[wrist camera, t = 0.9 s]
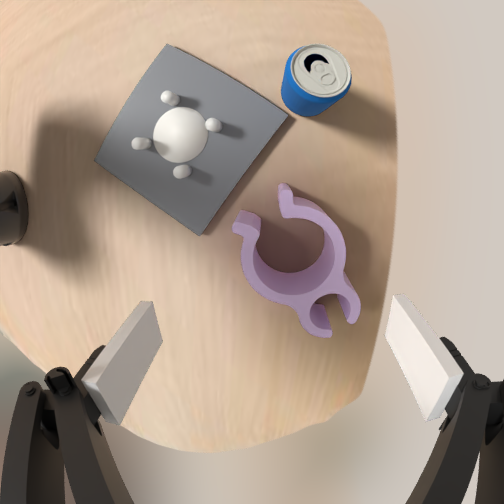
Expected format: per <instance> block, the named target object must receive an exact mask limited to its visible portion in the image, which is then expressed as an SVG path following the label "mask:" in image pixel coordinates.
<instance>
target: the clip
mask: <svg viewBox="0 0 504 504" xmlns="http://www.w3.org/2000/svg"><path fill="white" fill-rule="evenodd" d="M278 202H279V207H280V211H281V214H282V217H283V218H286V219H287V218H303V219H307V220H310V221H313V222H315V223H316V224H318V225H319V226H321V227H322V228H323V231H324V237H325V241H324V247H323V250H322V253H321V255H320V256H319V258H318V259H317V260H316V262H315V263H314V264H312V265H311V266H310V267H308V268H306V269H304V270H302V271H299V272H294V273H285V272H280V271H277V270H274V269H272V268H271V267H269V266H268V265H267V264H266V263H265V262H264V261H263V260H262V259H261V257H260V256H259V254H258V252H257V248H256V242H257V240H258V238H259V236H260V228H261V218H260V217H259V216H257V215H256V214H254V213H251V212H248V211H245V210H241V211H239V213H238V215H237V217H236V219H235V221H234V223H233V226H232V231H233V233H235V234H238V235H241V236H243V238H244V241H243V244H242V249H241V264H242V269H243V272H244V275H245V277H246V279H247V281H248V282H249V284H250V285H251V286H252V288H253V289H254V290H255V291H256V292H258V293H259V294H260V295H261V296H263V297H265V298H266V299H268V300H270V301H273V302H276V303H280V304H285V305H288V306H290V307H292V308H293V309H294V310H295V311H296V312H297V314H298V316H299V320H300V323H301V325H302V327H303V328H304V329H305V330H306V331H307V332H308V333H310V334H311V335H314V336H317V337H322V338H329V337H331V336H332V334H333V333H332V329H331V326H330V323H329V319H328V316H327V313H326V310H325V307H324V305H322V304H315V303H314V302H315V301H316V300H317V299H318V298H320V297H321V296H324V295H326V294H332V293H334V294H338V295H337V298H338V300H339V303H340V305H341V307H342V310H343V312H344V315H345V317H346V320H347V322H348V323H350V324H354V323H355V322H356V321H357V319H358V317H359V314H360V310H361V303H360V299H359V297H358V295H357V293H356V291H355V290H354V288H353V286H352V284H351V282H350V281H349V279H348V277H347V275H346V274H345V272H344V271H343V270H344V266H345V261H346V247H345V242H344V239H343V236H342V234H341V232H340V230H339V228H338V227H337V225H336V224H335V223H334V222H333V221H332V220H331V218H330V217H329V216H328V215H327V214H326V213H325V212H324V211H323V210H322V209H321V208H320V207H319V206H318V205H317V204H315V203H313V202H312V201H310V200H307V199H305V198H301V197H295V196H293V193H292V191H291V189H290V188H289V186H288V184H286V183H281V184H279V186H278Z"/></svg>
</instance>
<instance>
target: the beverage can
mask: <svg viewBox="0 0 504 504" xmlns="http://www.w3.org/2000/svg"><path fill="white" fill-rule="evenodd" d="M351 79H352V77H351V70H350V66H349V64H348V62H347V60H346V59H345V57H344V56H343V55H342V54H341V53H340V52H339V51H337V50H336V49H334V48H332V47H330V46H327V45H323V44H310V45H307V46H303V47H301V48H299V49H297V50H296V51H294V52H293V53H292V54H291V55H290V57H289V58H288V60H287V63H286V67H285V72H284V77H283V82H282V87H281V96H282V99H283V102H284V103H285V105H286V106H287V107H288V108H289V109H290V110H291V111H292V112H294V113H296V114H298V115H301V116H315V115H318V114H320V113H322V112H323V111H324V110H326V109H327V108H328V107H330V106H331V105H333V104H334V103H335V102H337V101H338V100H339V99H341V98H342V97H343V96H344V95H345V94H346V93H347V92H348V90H349V88H350V85H351Z"/></svg>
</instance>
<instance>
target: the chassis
mask: <svg viewBox="0 0 504 504" xmlns="http://www.w3.org/2000/svg"><path fill="white" fill-rule="evenodd" d="M287 117H288V115H287V114H286V113H285V112H283V111H282V110H280V109H279V108H277V107H276V106H275V105H273V104H272V103H270V102H269V101H267V100H266V99H264V98H263V97H261V96H260V95H258V94H257V93H255V92H253V91H252V90H250V89H249V88H247V87H246V86H244V85H242V84H241V83H239V82H237V81H236V80H234V79H232V78H231V77H229V76H227V75H226V74H224V73H222V72H220V71H219V70H217V69H215V68H213V67H212V66H210V65H208V64H206V63H204V62H202V61H201V60H199V59H197V58H195V57H193V56H191V55H189V54H187V53H185V52H183V51H181V50H179V49H177V48H175V47H173V46H171V45H169V44H166V45H165V47H164V48H163V49H162V51H161V52H160V53H159V55H158V56H157V57H156V59H155V60H154V61H153V63H152V64H151V65H150V67H149V68H148V70H147V71H146V72H145V74H144V75H143V77H142V78H141V80H140V81H139V83H138V84H137V86H136V87H135V89H134V90H133V92H132V93H131V95H130V96H129V98H128V100H127V101H126V103H125V105H124V106H123V108H122V110H121V111H120V113H119V115H118V116H117V118H116V120H115V122H114V123H113V125H112V127H111V129H110V131H109V132H108V134H107V136H106V138H105V140H104V142H103V144H102V146H101V148H100V150H99V152H98V154H97V156H96V158H95V160H94V161H95V162H96V163H98V164H99V165H100V166H102V167H103V168H105V169H106V170H107V171H109V172H110V173H111V174H113V175H114V176H115V177H117V178H118V179H120V180H121V181H122V182H124V183H125V184H127V185H128V186H129V187H131V188H132V189H133V190H135V191H136V192H138V193H139V194H140V195H142V196H143V197H145V198H146V199H147V200H149V201H150V202H152V203H153V204H154V205H156V206H157V207H159V208H160V209H161V210H163V211H164V212H166V213H167V214H168V215H170V216H171V217H173V218H174V219H175V220H177V221H178V222H180V223H181V224H183V225H184V226H185V227H187V228H188V229H190V230H191V231H193V232H194V233H195V234H197V235H198V236H200V235H201V234H202V233H203V231H204V230H205V228H206V227H207V225H208V224H209V222H210V221H211V220H212V218H213V217H214V215H215V214H216V212H217V211H218V210H219V208H220V207H221V205H222V204H223V202H224V201H225V200H226V198H227V197H228V195H229V194H230V193H231V191H232V190H233V188H234V187H235V186H236V184H237V183H238V181H239V180H240V179H241V177H242V176H243V175H244V173H245V172H246V170H247V169H248V168H249V166H250V165H251V164H252V162H253V161H254V160H255V158H256V157H257V156H258V154H259V153H260V152H261V150H262V149H263V148H264V146H265V145H266V144H267V142H268V141H269V140H270V139H271V137H272V136H273V135H274V133H275V132H276V131H277V129H278V128H279V127H280V126H281V124H282V123H283V122H284V120H285V119H286V118H287Z"/></svg>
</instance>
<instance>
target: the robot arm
mask: <svg viewBox="0 0 504 504" xmlns="http://www.w3.org/2000/svg"><path fill="white" fill-rule="evenodd" d="M27 221H28V207H27V200H26V195H25V192H24V189H23V186H22V184H21V182H20V180H19V179H18V177H17V176H16V175H15V174H14V173H12V172H10V171H2V172H0V246H2V245H3V246H9V245H12V244H14V243H16V242H18V241H19V240H21V239H22V237H23V236H24V234H25V231H26V227H27ZM385 338H386V339H387V341H388V343H389V345H390V347H391V349H392V351H393V353H394V355H395V357H396V359H397V361H398V363H399V365H400V367H401V369H402V371H403V373H404V375H405V377H406V379H407V382H408V384H409V386H410V388H411V390H412V392H413V395H414V397H415V399H416V401H417V403H418V405H419V408H420V410H421V412H422V415H423V417H424V419H425V421H426V422H427V421H430V420H433V419H437V418H439V417H440V416H441V414H442V413H443V411H444V409H445V410H446V412H447V414H448V415H447V417H446V418H445V420H444V422H443V423H442V425H441V426H440V428H439V430H441V431H440V434H439V437H438V439H437V441H436V444H435V447H434V449H433V451H432V453H431V456H430V458H429V460H428V462H427V464H426V466H425V468H424V470H423V472H422V474H421V476H420V478H419V480H418V482H417V484H416V486H415V488H414V490H413V492H412V493H411V495H410V497H409V499H408V500H407V502H406V504H461V503H462V501H463V498H464V496H465V493H466V491H467V488H468V485H469V482H470V480H471V477H472V474H473V471H474V468H475V464H476V461H477V458H478V454H479V451H480V459H479V474H478V483H477V492H476V499H475V504H504V380H503V381H501V382H491V381H490V379H489V378H487V377H486V376H485V375H482V374H475V373H474V372H473V370H472V369H471V367H470V366H469V365H468V363H467V362H466V360H465V359H464V358H463V356H461V353H460V352H459V351H458V350H457V348H456V347H455V345H454V344H453V343H452V342H451V341H449V340H448V339H447V338H445V337H441V338H439V337H438V336H437V334H436V333H435V332H434V330H433V329H432V328H431V327H430V325H429V324H428V323H427V321H426V320H425V319H424V317H423V316H422V315H421V313H420V312H419V311H418V310H417V308H416V307H415V306H414V305H413V304H412V302H411V301H410V300H409V298H408V297H407V296H406V295H405V294H398V295H393V298H392V303H391V308H390V313H389V318H388V323H387V328H386V333H385ZM162 342H163V340H162V336H161V332H160V329H159V325H158V321H157V317H156V313H155V309H154V305H153V302H149V301H141V302H140V303H139V304H138V305H137V307H136V308H135V309H134V310H133V312H132V313H131V314H130V315H129V317H128V318H127V319H126V320H125V322H124V323H123V324H122V326H121V327H120V328H119V329H118V331H117V332H116V333H115V335H114V336H113V337H112V339H111V340H110V341H109V343H108V344H107V345H106V346H104V345H102V346H100V347H99V348H97V349H96V350H94V352H93V353H92V354H91V356H90V357H89V359H87V361H86V362H85V364H84V365H83V366H82V367H81V369H80V370H79V371H78V373H77V374H76V375H75V377H74V378H73V377H72V375H71V374H70V372H69V370H68V369H67V368H65V367H57V368H54V369H52V370H50V371H49V372H48V373H47V374H46V376H45V380H44V381H45V382H46V384H47V386H48V387H49V389H50V390H43V389H42V387H41V385H40V384H39V383H38V382H35V381H32V382H28V383H26V384H25V385H24V386H23V387H22V388H21V390H20V392H19V395H18V399H17V402H16V406H15V410H14V413H13V417H12V422H11V426H10V431H9V435H8V440H7V446H6V451H5V457H4V464H3V472H2V481H1V493H0V504H65V491H64V464H65V468H66V472H67V475H68V479H69V483H70V486H71V490H72V493H73V496H74V499H75V502H76V504H134V502H133V500H132V499H131V496H130V495H129V493H128V490H127V488H126V486H125V484H124V482H123V480H122V478H121V475H120V473H119V471H118V469H117V466H116V464H115V461H114V459H113V456H112V454H111V451H110V449H109V446H108V443H107V441H106V438H105V436H104V432H103V429H102V426H101V424H100V422H99V420H98V418H99V417H100V415H102V416H103V418H104V419H105V421H106V422H109V423H112V424H116V425H120V424H121V422H122V420H123V418H124V416H125V414H126V412H127V410H128V408H129V406H130V404H131V402H132V400H133V398H134V396H135V394H136V392H137V390H138V388H139V386H140V384H141V382H142V380H143V378H144V376H145V374H146V372H147V371H148V369H149V367H150V365H151V363H152V361H153V359H154V357H155V355H156V353H157V351H158V349H159V348H160V346H161V344H162ZM441 428H442V429H441Z"/></svg>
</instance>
